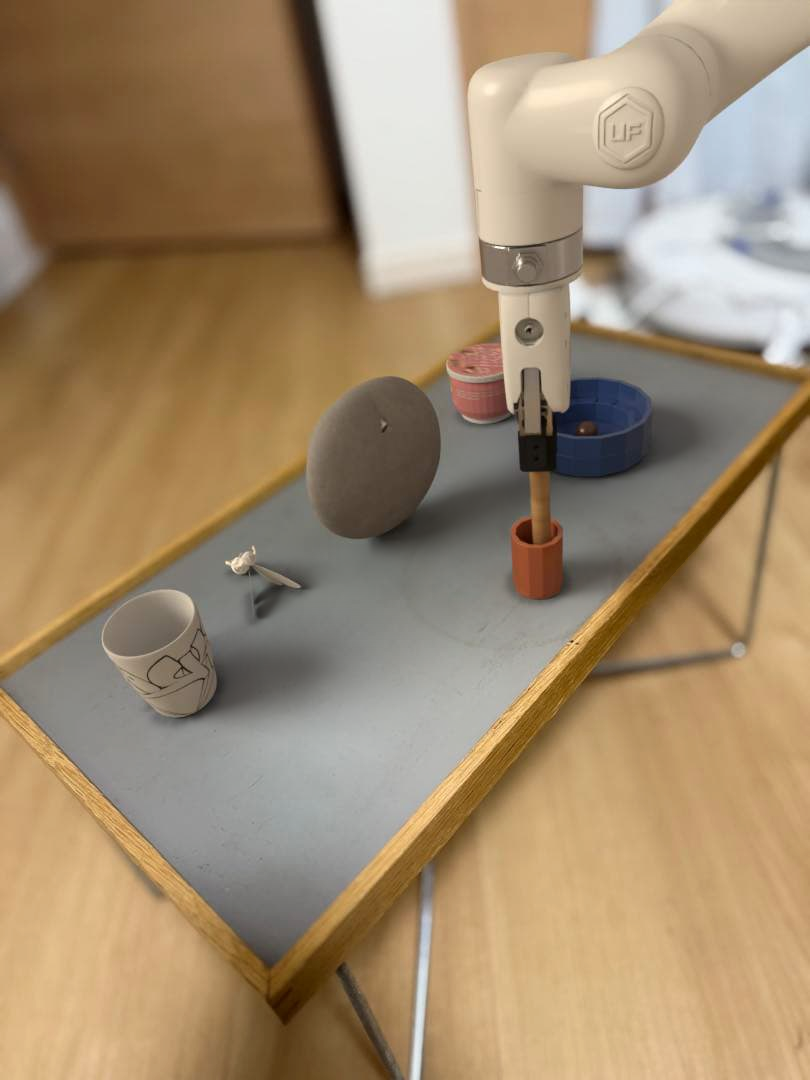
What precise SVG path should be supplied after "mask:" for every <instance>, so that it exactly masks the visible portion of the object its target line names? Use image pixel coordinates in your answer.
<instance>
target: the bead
mask: <svg viewBox="0 0 810 1080" xmlns="http://www.w3.org/2000/svg"><path fill="white" fill-rule="evenodd" d="M575 436H599V428H598V426H597V425H596V424H595V423H594V422H591V421H584V422H582V423H580V424H579V425H578V426H577V428H576V430H575Z"/></svg>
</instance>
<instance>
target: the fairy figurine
mask: <svg viewBox="0 0 810 1080" xmlns="http://www.w3.org/2000/svg"><path fill="white" fill-rule="evenodd" d="M250 548H251V549H252V550H253V551H251V550H250V551H248V550H247V551H245V552H240V553H239V555H238V557H235V558H233V559H232V558H231V559H230V560H225V564H226V566H230V567H231V570H232V572H234V573H235V574H236V575H244V574H246V573H247V572H248V573H249V574H248V575H249V577H251V574H250V573H251V572H250V567H251V568H253V569H254V570H255V572H257V573H258V575H260V576H261V577H263V578H264V579H266V580H268V581H270V582H271V583H273V584H275V585H279V586H282V587H283V586H284V585H285V586H287V587H290V588H294V589H301V588H302V586H301V584H298V583H297V582H296V581H294V580H291V579H290V578H288V577H286V576H285V575H282V574H280V573H277V572H275V571H273V570H270V569H268V568H266V567H263V566H261V565H259V564H256V562H257V559H258V558H257V555H258V553H257V548H256V547H255V546H254V545H252V546H251V547H250ZM249 584H250V585H249V586H250V587H252V581H251V579H249ZM250 595H251V596H253V590H252V588H250ZM251 603H252V604H251V605H254V600H253V598H251ZM252 612H253V614H252V615H255V611H254V608H252Z"/></svg>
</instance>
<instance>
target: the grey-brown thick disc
mask: <svg viewBox="0 0 810 1080" xmlns="http://www.w3.org/2000/svg"><path fill="white" fill-rule="evenodd" d="M437 415H438V414H437V413H436V409H435V408H434V405H433V403H432V402H431V400H430V399H429V397H428V395H426V394H425V392H424V391H423V390H422V389H421V388H420V387H418V385H416V384H415V383H413V382H411V381H410V380H408V379H405V378H402V377H400V376H395V375H386V376H380V377H375V378H372V379H368V380H365V381H364V382H361V383H359V384H358V385H355V386H354V387H352V388H351V389H349V390H347V391H346V392H345V393H343V394H342V395H341V396H339V397H338V398H337V399H336V400H335V401H333V402H332V404H331V405H330V406H329V407H327V409H326V410H325V411H324V412H323V413H322V414H321V416H320V418H319V419H318V420H317V422H316V423H315V426H314V428H313V429H312V432H311V435H310V437H309V441H308V446H307V447H308V448H307V453H306V463H305V464H306V465H305V484H306V491H307V496H308V500H309V502H310V505H311V508H312V510H313V512H314V514H315V516H316V518H318V520H319V522H320V523H321V525H322V526H324V527H325V528H326V529H327V530H328V531H330V532H331V533H332V534H334V535H336V536H338V537H341V538H344V539H349V540H352V539H353V540H365V539H372V538H376V537H378V536H381V535H383V534H385V533H387V532H390V531H392V530H393V529H395V528H396V527H398V526H399V525H400V524H402V523H403V522H404V521H406V520H407V518H409V517H410V516H411V515H412V514H413V513H414V512H415V511H416V509H417V508H418V507H419V506H420V504H421V503H422V502H423V500H424V499H425V497H426V496H427V494H428V492H429V490H430V488H431V487H432V485H433V482H434V481H435V478H436V476H437V475H436V474H437V472H438V469H439V466H440V460H441V449H442V439H441V427H440V422H439V418H438V416H437ZM381 420H382V422H381Z"/></svg>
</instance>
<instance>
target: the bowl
mask: <svg viewBox="0 0 810 1080" xmlns="http://www.w3.org/2000/svg"><path fill="white" fill-rule="evenodd" d="M653 413H654V410H653V403H652V398H651V396H650V395H648V394H647V393H646V392H645V391H644V390H643V389H642V388H641V387H639V386H637V385H634V384H632V383H630V382H628V381H624V380H623V379H622V380H621V379H616V378H608V377H604V376H603V377H602V376H587V377H586V376H585V377H574V378H570V403H569V408H568V409H567V410H566V411H565V412H564V413H561V411H560V412H554V413H552V414H557V454H556V461H557V466H556V470H555V471H553V472H555V473H559V474H562V475H563V474H564V475H568V476H572V477H603V476H606V475H611V474H615V473H619V472H624V471H626V470H627V469H629V468H630V467H632V466H635V465H636V464H637V463H639V462H640V461H642V460H643V458H644V456H645V455H646V453H648V450H649V449H650V446H651V445H650V444H651V443H650V442H651V434H652V423H653V422H652V421H653ZM584 421H591V422H594V423H595V424H596V425H597V426H598V428H599V436H575V430H576V428H577V426H578V425H579V424H580V423H582V422H584Z"/></svg>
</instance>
